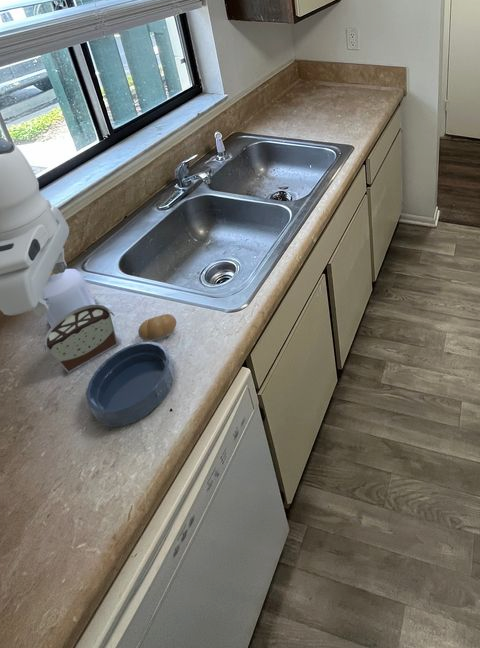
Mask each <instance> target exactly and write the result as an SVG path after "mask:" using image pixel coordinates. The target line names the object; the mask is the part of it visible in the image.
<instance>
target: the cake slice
mask: <svg viewBox="0 0 480 648" xmlns="http://www.w3.org/2000/svg"><path fill="white" fill-rule="evenodd" d="M111 315H112V316H113V317H115V314H114V313H113V311H112V310H111V309H110V308H108V307H106V306H105V305H104V304H103V305H102V304H96V303H95V305H87V306H84V307H81V308H78V309H76V310H73V311H72V312H70V313H68V314H66V315H65V316H63V317H62V318H61V319H59V320H58V321H57V322H56V323H55V324H54V325H53V326H52V327H51V326H50V329H48V331H47V333H46V334H45V338H44V342H43V349H44V354H47V351H49V352H50V354H51V355H52V356H53V357H54V359H55V360H56V361H57V362H58V363H59V365H60V366H61V367H62V368H63V370H64V371H65V372H66V373H67V374H70V373H71V372H73V371H74V370H76V369H78V368H80V367H81V366H83V365H85V364H87V363H88V362H90V361H92V360H93V359H95V358H97V357H99V356H100V355H102V354H104V353H106V352H107V351H109V350H111V349H112V348H115V347H116V346H117V345H119V343H118V339H117V335H116V331H115V327H114V323H113V320H112V316H111Z"/></svg>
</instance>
